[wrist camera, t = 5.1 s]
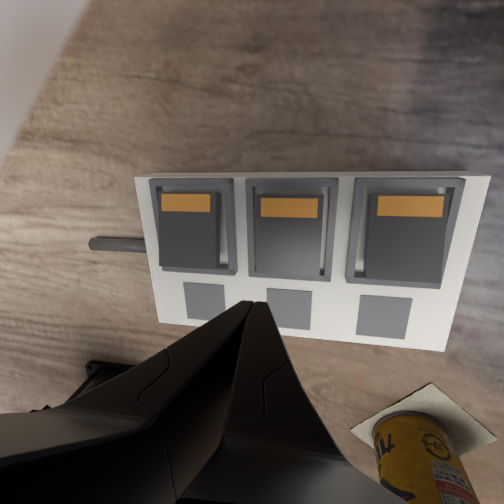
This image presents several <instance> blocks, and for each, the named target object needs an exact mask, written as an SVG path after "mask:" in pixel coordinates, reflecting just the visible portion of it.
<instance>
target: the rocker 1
mask: <svg viewBox="0 0 504 504" xmlns="http://www.w3.org/2000/svg"><path fill="white" fill-rule="evenodd" d="M220 208H221V193H218V192H161V191H158V227H159V266H165V267H181V268H197V269H213V270H215V269H217V268H219V267H220Z"/></svg>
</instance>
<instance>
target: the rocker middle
mask: <svg viewBox="0 0 504 504" xmlns="http://www.w3.org/2000/svg"><path fill="white" fill-rule="evenodd" d="M323 205H324V194H257V195H256V273H266V274H282V275H298V276H314V277H319V272H320V256H321V239H322V222H323Z"/></svg>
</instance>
